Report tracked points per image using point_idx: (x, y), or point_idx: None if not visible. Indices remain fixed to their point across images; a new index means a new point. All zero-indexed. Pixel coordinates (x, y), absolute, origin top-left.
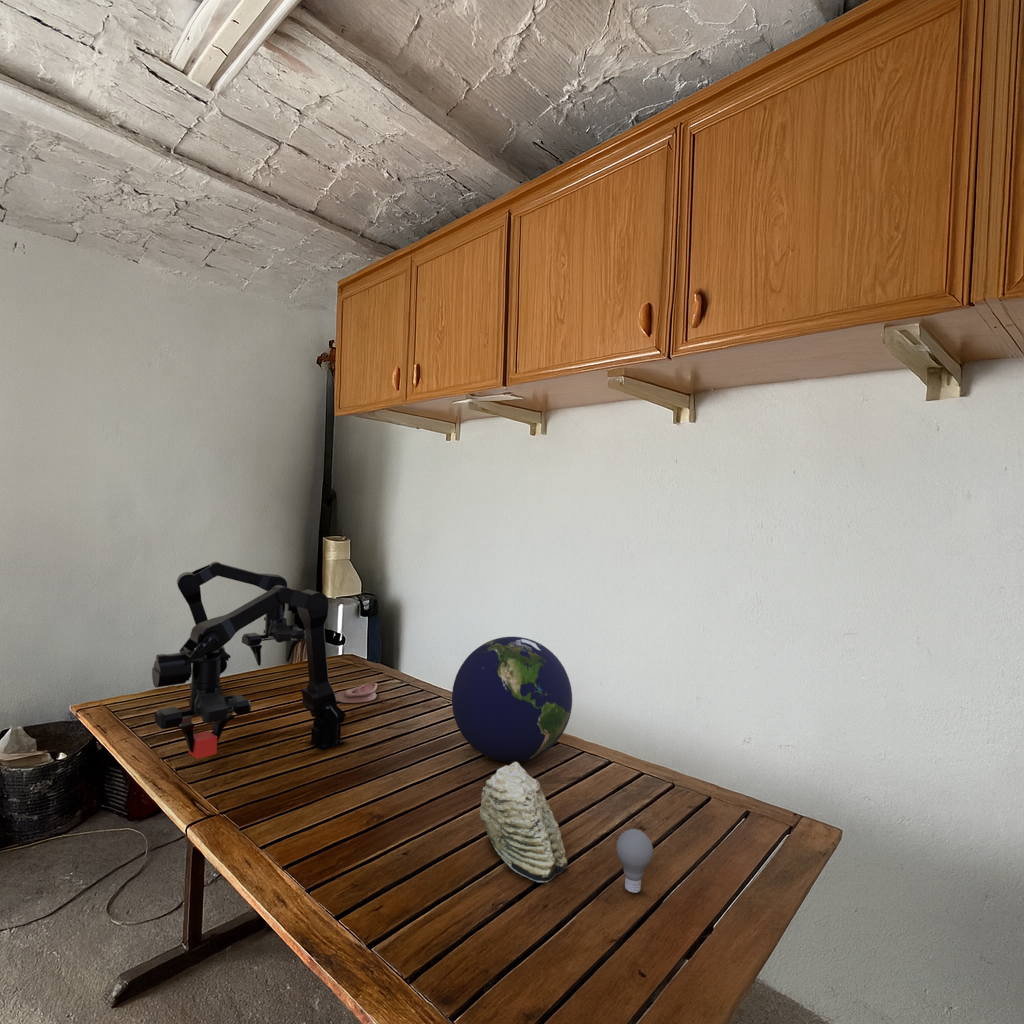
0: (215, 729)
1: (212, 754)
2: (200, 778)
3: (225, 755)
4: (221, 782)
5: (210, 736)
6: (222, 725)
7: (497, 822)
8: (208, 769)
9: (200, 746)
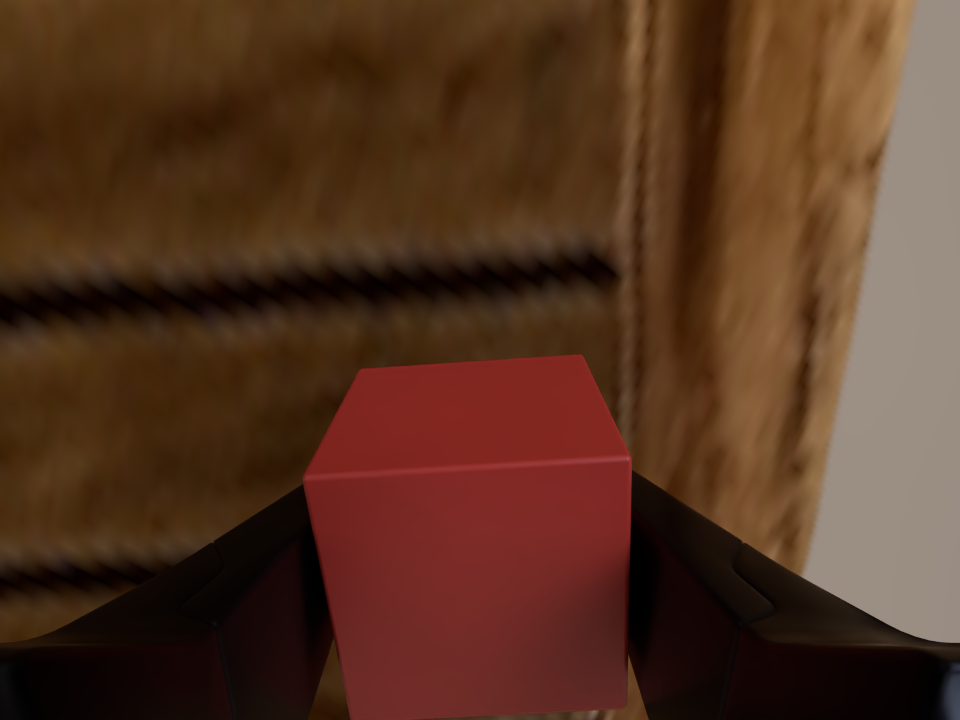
0: (279, 645)
1: (405, 366)
2: (512, 306)
3: None
4: (398, 115)
5: (397, 523)
6: (129, 627)
7: None
8: None
9: (562, 414)
